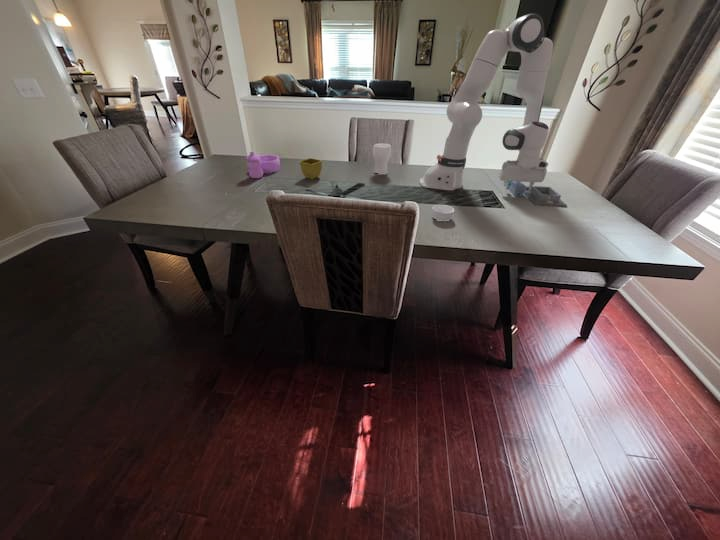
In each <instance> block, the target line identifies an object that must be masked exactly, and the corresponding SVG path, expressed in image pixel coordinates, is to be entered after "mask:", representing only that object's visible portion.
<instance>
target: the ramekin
mask: <svg viewBox="0 0 720 540" xmlns="http://www.w3.org/2000/svg"><path fill="white" fill-rule="evenodd" d="M454 212H455V208H454V207H452V206H450V205H448V204H435V205H433V206H432V214H431V217H432V216H433V217H434V218H436V219H438V220H443V221H445V220H450V219H451V218H453V215H454ZM451 220H452V219H451ZM451 220H450V221H451Z"/></svg>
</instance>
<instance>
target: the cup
mask: <svg viewBox="0 0 720 540" xmlns="http://www.w3.org/2000/svg"><path fill="white" fill-rule="evenodd" d="M392 151H393V150H392V146H391V144H389V143H382V142H381V143H374V145H373V147H372V158H373V161H374V162H375V163H374V164H375V166H374V172H375V173H378V174H377V175H379V174H384V175H387V174H388V163H389V160H390V159H391V156H392ZM374 172H373V173H374ZM375 173H374V174H375Z"/></svg>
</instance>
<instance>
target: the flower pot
mask: <svg viewBox="0 0 720 540" xmlns="http://www.w3.org/2000/svg"><path fill="white" fill-rule="evenodd" d="M299 165H300V168H301V169H300V170H301V173H302V174H303V176H304V178H306V179H309V178H310V180H315V179H317V178H319V177H320V175H321V172H322V168H323V167H322V166H323V160H320V159H316V158H311V157H310V158H306V159H304V160H300V161H299ZM316 177H317V178H316ZM314 178H315V179H314Z"/></svg>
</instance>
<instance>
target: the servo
mask: <svg viewBox="0 0 720 540" xmlns="http://www.w3.org/2000/svg"><path fill="white" fill-rule="evenodd" d="M526 186H527V185H525V184H524V182H521V181H512V182H511V185H510V188H509V190H508V191H509V192H510V193H511V195H512V196H514V197H515V196H516V197H523V195H524V193H523V192H524V191H526V189H525V187H526Z"/></svg>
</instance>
